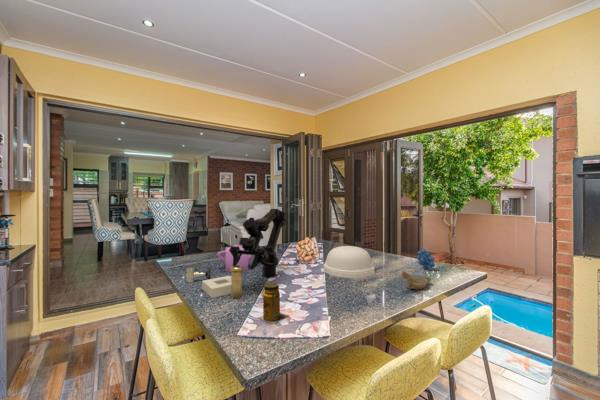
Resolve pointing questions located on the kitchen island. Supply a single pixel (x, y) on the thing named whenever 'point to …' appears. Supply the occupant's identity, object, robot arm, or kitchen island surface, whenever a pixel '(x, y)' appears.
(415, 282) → the oil lamp
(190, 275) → the valve
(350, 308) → the kitchen island surface
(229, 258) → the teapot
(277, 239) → the robot arm
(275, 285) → the condiment
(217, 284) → the jig plate
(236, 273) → the brass bushing
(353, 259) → the dome cover
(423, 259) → the grapes
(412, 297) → the kitchen island surface
